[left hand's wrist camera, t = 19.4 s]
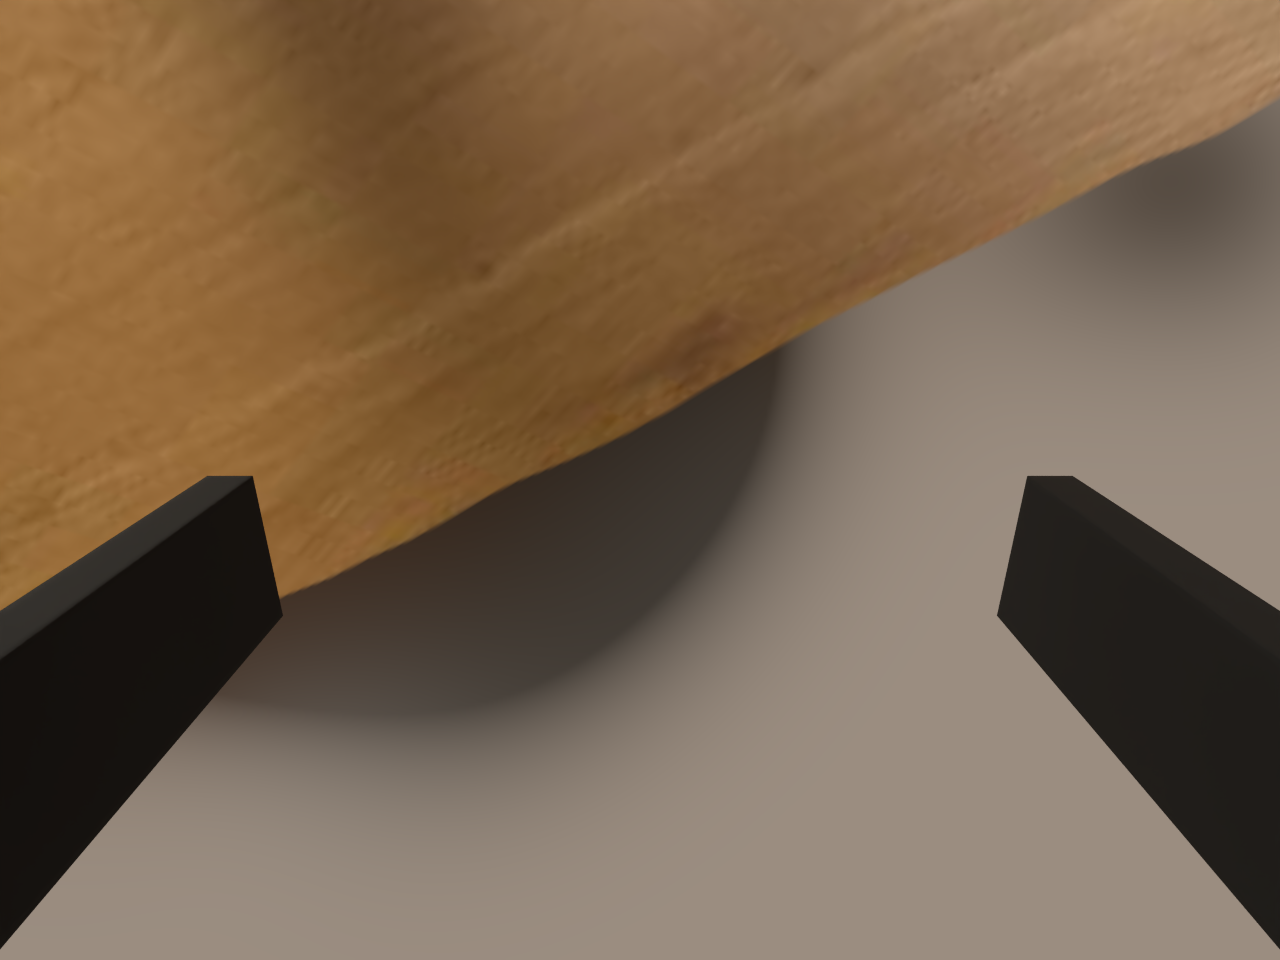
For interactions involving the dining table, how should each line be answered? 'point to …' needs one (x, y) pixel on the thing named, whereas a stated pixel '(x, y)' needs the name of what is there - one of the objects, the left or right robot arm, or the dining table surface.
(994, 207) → the dining table surface
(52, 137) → the dining table surface
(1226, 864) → the left robot arm
